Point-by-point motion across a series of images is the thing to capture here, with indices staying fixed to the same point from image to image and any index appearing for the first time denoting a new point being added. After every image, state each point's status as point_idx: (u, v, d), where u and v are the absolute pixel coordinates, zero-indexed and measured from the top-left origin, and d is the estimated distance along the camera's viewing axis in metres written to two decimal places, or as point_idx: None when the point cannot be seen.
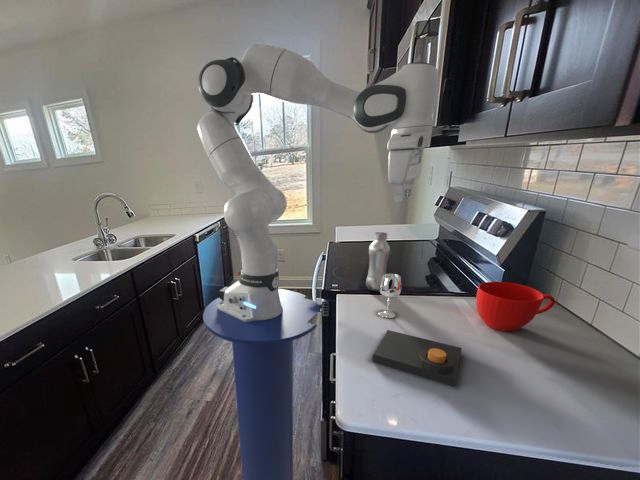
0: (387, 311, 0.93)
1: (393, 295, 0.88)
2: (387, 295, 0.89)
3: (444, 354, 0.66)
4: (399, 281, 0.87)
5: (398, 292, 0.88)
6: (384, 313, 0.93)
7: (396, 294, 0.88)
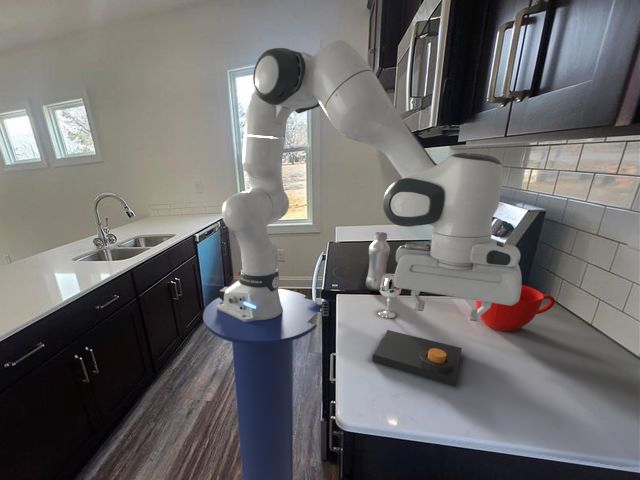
0: (387, 311, 0.93)
1: (393, 295, 0.88)
2: (387, 295, 0.89)
3: (444, 354, 0.66)
4: None
5: (398, 292, 0.88)
6: (384, 313, 0.93)
7: (396, 294, 0.88)
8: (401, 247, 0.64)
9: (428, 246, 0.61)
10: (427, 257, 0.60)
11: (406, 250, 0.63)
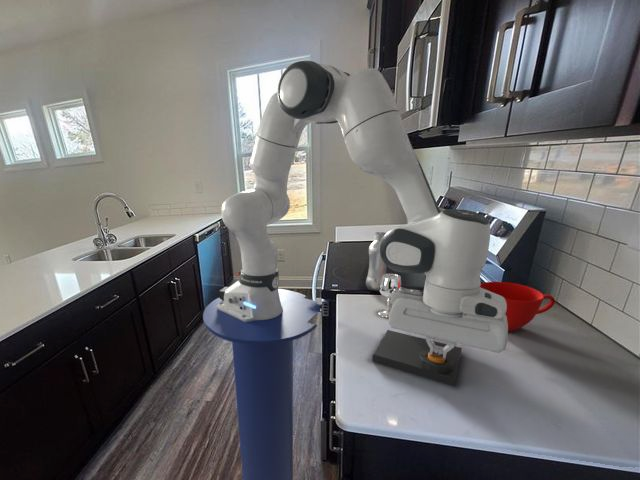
0: (387, 311, 0.93)
1: None
2: (387, 295, 0.89)
3: None
4: (399, 281, 0.87)
5: None
6: (384, 313, 0.93)
7: None
8: (396, 290, 0.67)
9: (421, 292, 0.64)
10: (420, 302, 0.64)
11: (400, 294, 0.67)
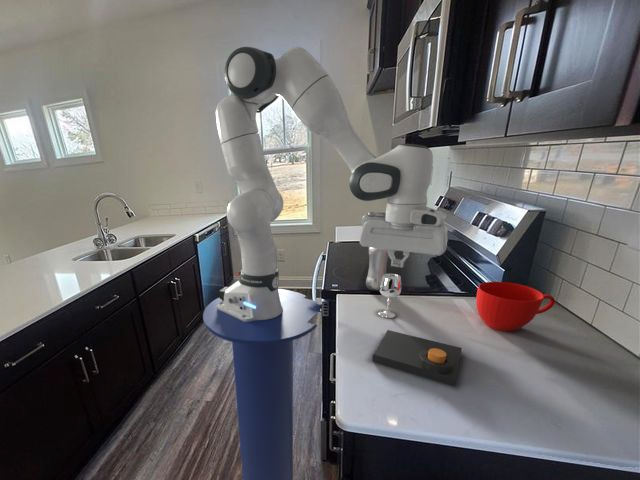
0: (387, 311, 0.93)
1: (393, 295, 0.88)
2: (387, 295, 0.89)
3: (444, 354, 0.66)
4: (399, 281, 0.87)
5: (398, 292, 0.88)
6: (384, 313, 0.93)
7: (396, 294, 0.88)
8: (365, 215, 0.85)
9: (384, 213, 0.82)
10: (383, 221, 0.81)
11: (369, 217, 0.84)
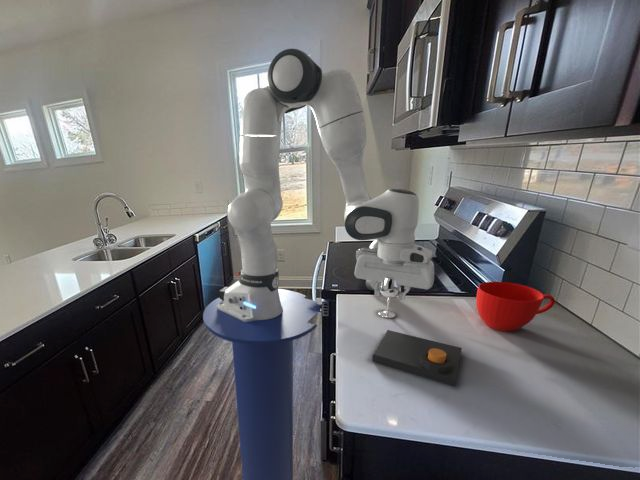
0: (387, 311, 0.93)
1: (393, 295, 0.88)
2: (387, 295, 0.89)
3: (444, 354, 0.66)
4: None
5: (398, 292, 0.88)
6: (384, 313, 0.93)
7: (396, 294, 0.88)
8: (359, 250, 0.92)
9: (376, 249, 0.89)
10: (375, 257, 0.88)
11: (362, 252, 0.91)
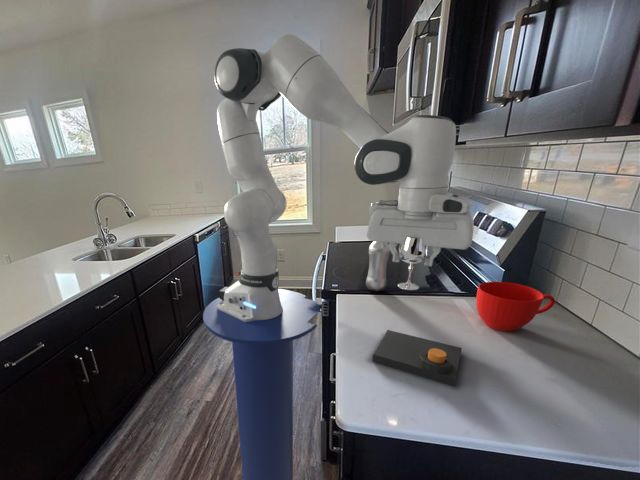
0: (408, 282, 0.73)
1: (417, 259, 0.69)
2: (410, 260, 0.69)
3: (444, 354, 0.66)
4: None
5: (424, 255, 0.68)
6: (405, 285, 0.73)
7: (421, 258, 0.68)
8: (373, 204, 0.72)
9: (396, 201, 0.69)
10: (395, 210, 0.69)
11: (377, 206, 0.72)
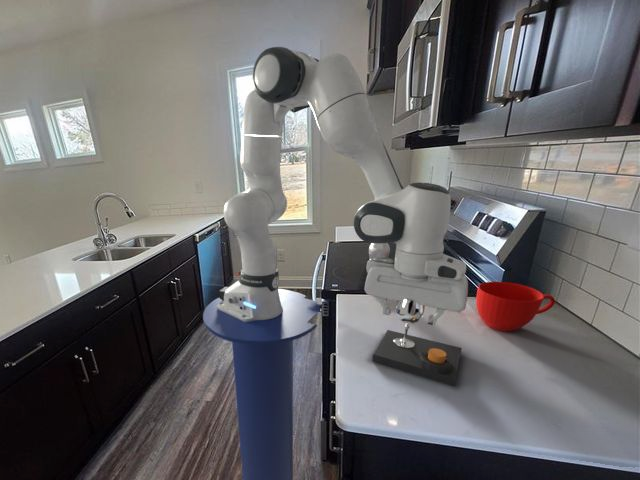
0: (405, 339, 0.75)
1: (414, 321, 0.71)
2: (406, 320, 0.71)
3: (444, 354, 0.66)
4: None
5: (420, 317, 0.70)
6: (401, 341, 0.75)
7: (417, 319, 0.70)
8: None
9: (392, 260, 0.71)
10: (391, 269, 0.70)
11: (375, 262, 0.73)
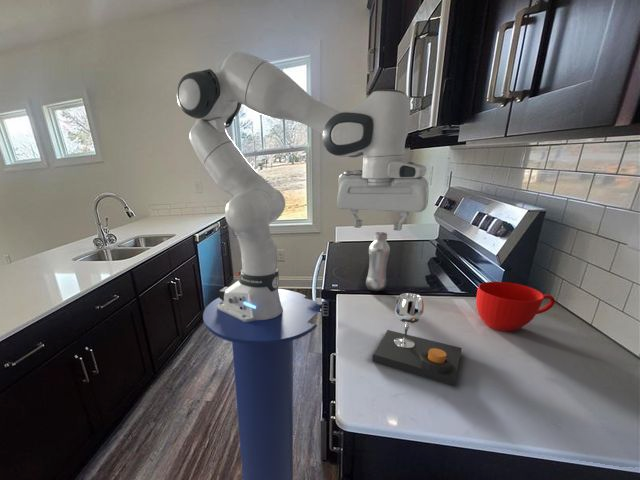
0: (405, 339, 0.75)
1: (413, 321, 0.71)
2: (405, 321, 0.71)
3: (444, 354, 0.66)
4: (421, 304, 0.70)
5: (419, 317, 0.70)
6: (401, 341, 0.75)
7: (417, 320, 0.70)
8: (342, 174, 0.79)
9: (361, 171, 0.76)
10: (360, 179, 0.76)
11: (345, 176, 0.79)
